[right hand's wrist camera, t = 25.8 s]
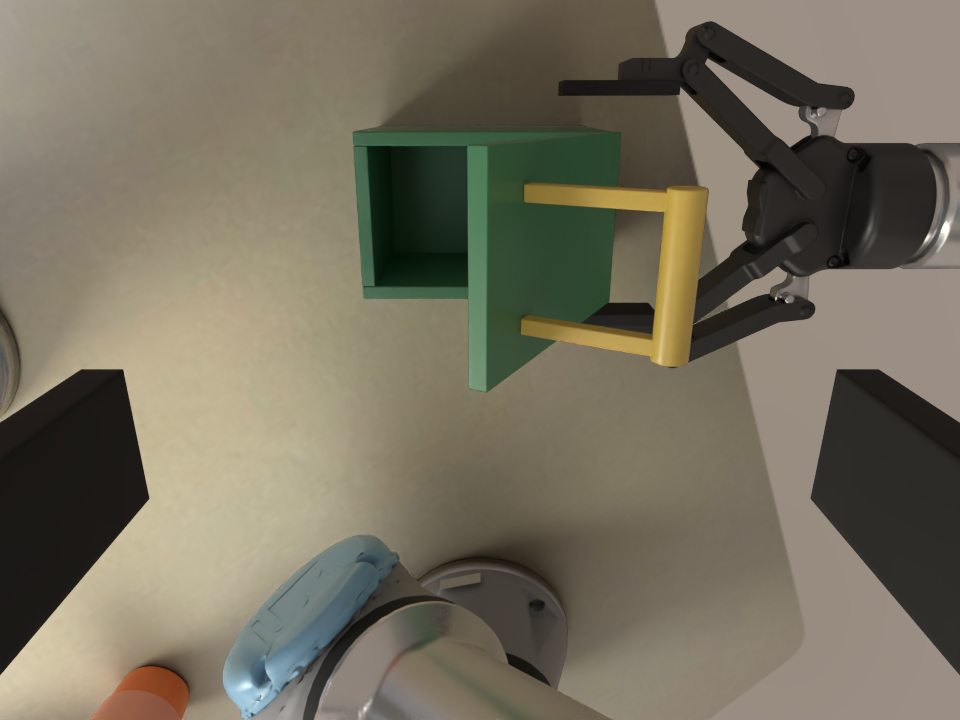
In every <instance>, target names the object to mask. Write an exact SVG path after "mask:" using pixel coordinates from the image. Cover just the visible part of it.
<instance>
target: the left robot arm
mask: <svg viewBox="0 0 960 720" xmlns="http://www.w3.org/2000/svg"><path fill="white" fill-rule="evenodd" d="M685 39H686V41H685V44H684V46H683V48H682V50H681V52H680V54H679V55H678V56H677V57H675V58H632V59H629V60H626V61H624V62H622V63H619V69H618V80H564V81H561V82H559V89H558V96H647V95H679V94H680V87H681V88H682V89H683V90H684V91H685V92H686V93H687V94H688V95H689V96H690V97H691V98H692V99H693V100H694V101H695V102H696V103H697V104H698V105H699V106H700V107H701V108H702V109H703V110H704V111H705V112H706V113H707V114H708V115H709V116H710V117H711V118H712V119H713V120H714V121H715V122H716V123H717V124H718V125H719V126H720V127H721V128H722V129H723V130H724V131H725V132H726V133H727V134H728V135H729V136H730V137H731V138H732V139H733V140H734V141H735V142H736V143H737V144H738V145H739V146H740V147H741V148H742V149H743V150H744V153H745V154H746V155H747V156H748V157H749V158H750V159H751V160H752V161H753V162H754V163H755V164H756V165H757V166H758V167H759V168H760V169H759V170H758V171H757V172H756V173H755V175H754V177H753V179H752V180H749V181H748V188H747V197H748V208H747V210H746V213H745V215H744V218H743V224H742V230H743V231H745V235H746V238H747V240H746V241H745V242H744V243H742V244H741V245H740V246H738V247H737V248H736V249H734V250H733V251H732V252H731V254H730V256H729V257H728V258H727V259H726V260H725V261H723V262H722V263H721V264H719V265H718V266H717V267H715V268H714V269H713V270H711V271H710V272H709V273H707V274H706V275H705V276H703V277H702V278H701V279H700V280H698V286H697V294H696V302H695V311H694V319H693V324H694V323H696V322H697V321H698V320H700V319H701V318H702V317H704V316H705V315H706V314H708V313H709V312H710V311H712V310H713V309H715V308H716V307H717V306H719V305H720V304H721V303H723V302H724V301H725V300H727V299H728V298H729V297H731V296H732V295H733V294H735V293H736V292H738V291H739V290H740V289H742V288H743V287H744V286H746V285H747V284H748V283H750V282H751V281H753V280H755V279H759V278H762V277H763V276H765V275H766V274H768V273H769V272H770V271H772V270H773V269H774V268H776V267H777V266H778V267H780V268H781V269H782V270H783V271H785V272H787V278H786V279H785V281H784V282H782V283H781V284H778V285H775V286H773V287H772V288H771V290H770V294H765V295H761V296H757V297H755V298H752V299H750V300H748V301H745V302H743V303H741V304H739V305H737V306H734V307H732V308H730V309H728V310H725V311H723V312H721V313H719V314H717V315H714V316H712V317H710V318H708V319H706V320H703V321H701V322H699V323H697V324H694V325H693V328H692V336H691V344H690V353H689V361H688V362H690V361H692V360H695V359H697V358H699V357H701V356H704V355H706V354H708V353H710V352H713V351H715V350H717V349H719V348H722V347H724V346H726V345H728V344H731V343H733V342H735V341H737V340H740V339H742V338H744V337H746V336H749V335H751V334H753V333H755V332H758V331H760V330H762V329H764V328H767V327H769V326H771V325H773V324H776V323H778V322H786V321H795V320H804V319H808V318H810V317H811V316H812V315H813V314H814V312H815V305H814V304H813V303H812V302H810V301H808V289H809V276H810V275H812V274H814V273H816V272H818V271H821V270H825V269H893V268H896V267H900V268H903V269H960V143H923V144H918V145H915V146H914V145H912V144H908V143H843V142H840V141H838V140H837V139H836V138H834V135H835V132H836V128H837V125H838V122H839V118H840V114H841V111H842V110H843V109H846V108H849V107H850V106H851V105H852V103H853V101H854V97H855V95H854V91H853V90H852V89H851V88H848V87H843V86H835V85H827V84H819V83H817V82H815V81H813V80H811V79H810V78H808V77H806V76H805V75H803V74H801V73H800V72H798V71H796V70H795V69H793V68H791V67H789V66H788V65H786V64H784V63H783V62H781V61H779V60H778V59H776V58H774V57H773V56H771V55H769V54H767V53H766V52H764V51H762V50H761V49H759V48H757V47H756V46H754V45H752V44H751V43H749V42H747V41H745V40H744V39H742V38H740V37H739V36H737V35H735V34H734V33H732V32H730V31H728V30H727V29H725V28H723V27H722V26H720V25H718V24H717V23H715V22H712V21H710V22H705V23H703V24H700V25H697V26H695V27H693V28H691V29H690V30H689V31H688V32H687V34H686V38H685ZM707 58H708V59H710V60H711V61H713V62H715V63H717V64H718V65H720V66H722V67H724V68H725V69H727V70H729V71H730V72H732V73H734V74H736V75H737V76H739V77H741V78H743V79H744V80H746V81H748V82H749V83H751V84H753V85H755V86H756V87H758V88H760V89H762V90H763V91H765V92H767V93H768V94H770V95H772V96H774V97H775V98H777V99H779V100H781V101H783V102H785V103H787V104H790V105H793V106H797V107H800V108H799V117H800V119H801V120H802V121H804V122H807V123H808V124H809V125H810V127H811V135H809V136H807V137H805V138H803V139H802V140H800V141H799V142H797V143H796V144H794V145H793V146H791V147H789V146H788V145H787V144H786V143H785V142H783V141H782V140H781V139H779V138H778V137H776V136H775V135H774V134H773V133H772V132H771V131H770V130H769V129H768V128H767V127H766V126H765V125H764V124H763V123H762V122H761V121H760V120H759V119H758V118H757V117H756V116H755V115H754V114H753V113H752V112H751V111H750V110H749V109H748V108H747V107H746V106H745V105H744V104H743V103H742V102H741V101H740V100H739V98H738V97H737V96H736V95H735V94H734V93H733V92H732V91H731V90H730V89H729V88H728V87H727V86H726V85H725V84H724V83H723V82H722V81H721V80H720V79H719V78H718V77H717V76H716V75H715V74H714V73H713V72H712V71H711V70H710V69H709V68H708V67H707V66H706V65H705V62H706V60H707ZM654 314H655V310H654V309H653V308H652V307H651V306H650V305H649V303H607V304H606V305H604V306H603V307H601V308H600V309H599V310H597V311H596V312H595V313H593V314H592V315H591V316H589V317H588V318H587V319H585V320H584V321H583V322H581V323H583V324H589V325H596V326H602V327H609V328H615V329H621V330H628V331H634V332H641V333H647V334H653V325H654ZM667 367H669V368H676V367H670V366H667ZM677 367H679V366H677ZM567 642H568V631H567V624H566V618H565V613H564V609H563V607H562V604H561V602H560V600H559V598H558V596H557V595H556V593H555V592H554V590H553V589H552V588H551V587H550V586H549V584H547V583H546V582H545V581H544V580H543V579H542V578H541V577H539V576H538V575H537V574H535V573H534V572H532V571H530V570H528V569H526V568H524V567H522V566H520V565H517V564H515V563H511V562H508V561H504V560H499V559H491V558H471V559H463V560H459V561H454V562H451V563H448V564H445V565H442V566H440V567H438V568H436V569H434V570H432V571H430V572H429V573H427V574H425V575H424V576H423V577H422V578H420V579H419V580H418V581H416V580H415V579H414V578H413V577H412V576H411V575H410V574H409V573H408V571H407V570H406V569H405V568H404V567H403V565H402V564H401V563H400V562H399V555H398V554H397V553H396V552H392V551H391V550H390V549H389V548H388V547H387V546H386V545H385V544H384V543H383V542H382V541H381V540H380V539H378V538H377V537H375V536H372V535H357V536H353V537H350V538H347V539H345V540H343V541H340V542H338V543H337V544H335V545H333V546H331V547H330V548H328V549H326V550H325V551H324V552H322V553H321V554H319V555H317V556H316V557H315V558H313V559H312V560H311V561H309V562H308V563H307V564H305V565H304V566H303V567H302V568H301V569H299V570H298V571H297V572H296V573H295V574H294V575H292V576H291V577H290V578H289V579H288V580H287V581H286V582H285V583H284V584H283V585H282V586H281V587H280V588H278V589H277V590H276V591H275V593H274V594H273V595H272V596H271V597H270V598H269V599H268V600H267V601H266V602H265V603H264V604H263V605H262V606H261V608H260V609H259V610H258V611H257V612H256V614H255V615H254V616H253V617H252V619H251V620H250V621H249V622H248V624H247V625H246V627H245V628H244V629H243V631H242V633H241V634H240V636H239V637H238V638H237V640H236V641H235V643H234V645H233V647H232V649H231V651H230V653H229V655H228V657H227V660H226V663H225V666H224V671H223V684H224V688H225V690H226V692H227V694H228V695H229V697H230V698H231V699H232V700H233V701H234V703H235V704H236V705H237V706H238V707H239V708H240V710H241V717H242V718H244V719H246V720H248V719H251V720H612V719H610V718H609V717H607V716H605V715H603V714H601V713H599V712H597V711H595V710H593V709H592V708H590V707H588V706H586V705H584V704H582V703H580V702H578V701H577V700H575V699H573V698H571V697H569V696H567V695H565V694H563V693H562V692H560V691H558V690H557V688H558V684H559V680H560V676H561V673H562V669H563V665H564V661H565V657H566V652H567Z"/></svg>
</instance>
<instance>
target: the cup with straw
mask: <svg viewBox="0 0 960 720" xmlns="http://www.w3.org/2000/svg"><path fill="white" fill-rule="evenodd" d="M188 700H189V691H188V688H187V686H186V684H185V682H184V681H183V680H182V679H181V678H180V677H179V676H178V675H176V674H175V673H173V672H171V671H169V670H167V669H164V668H160V667H153V666H148V667H142V668H138V669H136V670H134V671H132V672H131V673H129V674H128V675H127V676H126V677H125V679H124V680H123V681H122V683H121V684H120V685H119V686H118V688H117V689H116V690H115V692H114V693H113V694H112V695H111V696H110V697H108V698H107V699H106V700H105V701H104V703H103V704H102V705H101V706H100V708H99V709H98V710H97V712H96V713H95V714H94V715H93V717H92V718H91V719H90V720H182V717H183V714H184V712H185V709H186V706H187V703H188Z"/></svg>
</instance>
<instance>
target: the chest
mask: <svg viewBox="0 0 960 720" xmlns="http://www.w3.org/2000/svg"><path fill="white" fill-rule="evenodd" d="M599 132H610V131H605V130H599V129H594V128H588V127H585V126H378V127H375V128H370V129H365V130H359V131H354V132H353V144H354V162H355V177H356V193H357V209H358V224H359V240H360V256H361V271H362V285H363V297H364V298H401V299H468V168H467V146H468V145H469V144H479V143H490V142H501V141H512V140H523V139H534V138H545V137H556V136H567V135H577V134H588V133H599Z"/></svg>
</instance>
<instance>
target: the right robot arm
mask: <svg viewBox="0 0 960 720" xmlns="http://www.w3.org/2000/svg"><path fill="white" fill-rule="evenodd" d="M18 381H19V357H18V352H17V347H16V344H15V341H14V338H13V335H12V333H11V330H10V328H9V326H8V324H7V322H6V320H5V319H4V317H3V316H2V314H1V312H0V417H1V416H2V415H3V414H4V413H5V411H6V410H7V408H8V407H9V406H10V404H11V402H12V400H13V398H14V396H15V393H16V390H17V386H18ZM148 500H149V494H148V489H147V484H146V480H145V475H144V470H143V465H142V460H141V455H140V450H139V445H138V440H137V435H136V431H135V426H134V421H133V416H132V411H131V406H130V401H129V396H128V391H127V386H126V382H125V377H124V372H123V369H81V370H80V371H78V372H77V373H75V374H74V375H72V376H71V377H69V378H68V379H66V380H65V381H63V382H62V383H60V384H58V385H57V386H55V387H54V388H52V389H51V390H49V391H48V392H46V393H45V394H43V395H42V396H40V397H39V398H37V399H36V400H34V401H33V402H31V403H30V404H28V405H27V406H25V407H23V408H22V409H20V410H19V411H17V412H16V413H14V414H13V415H11V416H10V417H8V418H7V419H5V420H4V421H2V422H1V423H0V675H1V674H2V672H3V671H4V670H5V669H6V668H7V667H8V665H9V664H10V663H11V662H12V661H13V659H14V658H15V657H16V656H17V655H18V654H19V652H20V651H21V650H22V649H23V648H24V646H25V645H26V644H27V643H28V642H29V640H30V639H31V638H32V637H33V636H34V635H35V633H36V632H37V631H38V630H39V629H40V627H41V626H42V625H43V624H44V623H45V622H46V620H47V619H48V618H49V617H50V616H51V614H52V613H53V612H54V611H55V610H56V609H57V607H58V606H59V605H60V604H61V603H62V601H63V600H64V599H65V598H66V597H67V596H68V594H69V593H70V592H71V591H72V590H73V588H74V587H75V586H76V585H77V584H78V583H79V581H80V580H81V579H82V578H83V577H84V575H85V574H86V573H87V572H88V571H89V570H90V568H91V567H92V566H93V565H94V564H95V562H96V561H97V560H98V559H99V558H100V556H101V555H102V554H103V553H104V552H105V551H106V549H107V548H108V547H109V546H110V545H111V543H112V542H113V541H114V540H115V539H116V538H117V536H118V535H119V534H120V533H121V532H122V530H123V529H124V528H125V527H126V526H127V525H128V523H129V522H130V521H131V520H132V519H133V517H134V516H135V515H136V514H137V513H138V512H139V510H140V509H141V508H142V507H143V506H144V504H145V503H146V502H147V501H148ZM811 500H812V501H813V502H814V503H815V504H816V506H817V507H818V508H819V509H820V510H821V512H822V513H823V514H824V515H825V516H826V517H827V519H828V520H829V521H830V522H831V523H832V525H833V526H834V527H835V528H836V529H837V530H838V532H839V533H840V534H841V535H842V536H843V538H844V539H845V540H846V541H847V542H848V543H849V545H850V546H851V547H852V548H853V549H854V550H855V552H856V553H857V554H858V555H859V556H860V558H861V559H862V560H863V561H864V562H865V564H866V565H867V566H868V567H869V568H870V570H871V571H872V572H873V573H874V574H875V575H876V577H877V578H878V579H879V580H880V581H881V583H882V584H883V585H884V586H885V587H886V588H887V590H888V591H889V592H890V593H891V594H892V596H893V597H894V598H895V599H896V600H897V601H898V603H899V604H900V605H901V606H902V607H903V609H904V610H905V611H906V612H907V613H908V614H909V616H910V617H911V618H912V619H913V620H914V621H915V623H916V624H917V625H918V626H919V627H920V629H921V630H922V631H923V632H924V633H925V635H926V636H927V637H928V638H929V639H930V641H931V642H932V643H933V644H934V645H935V646H936V648H937V649H938V650H939V651H940V652H941V654H942V655H943V656H944V657H945V658H946V659H947V661H948V662H949V663H950V664H951V665H952V667H953V668H954V669H955V670H956V671H957V672H958V674H959V675H960V423H959V422H958V421H956V420H955V419H953V418H952V417H950V416H949V415H947V414H946V413H944V412H943V411H941V410H940V409H938V408H936V407H935V406H933V405H932V404H930V403H929V402H927V401H926V400H924V399H923V398H921V397H920V396H918V395H917V394H915V393H914V392H912V391H911V390H909V389H908V388H906V387H904V386H903V385H901V384H900V383H898V382H897V381H895V380H894V379H892V378H891V377H889V376H888V375H886V374H885V373H883V372H882V371H880V370H878V369H859V370H858V369H850V370H849V369H839V370H837V372H836V377H835V382H834V387H833V391H832V396H831V401H830V406H829V411H828V416H827V421H826V426H825V431H824V435H823V440H822V446H821V450H820V455H819V460H818V465H817V470H816V475H815V480H814V484H813V489H812V494H811Z"/></svg>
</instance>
